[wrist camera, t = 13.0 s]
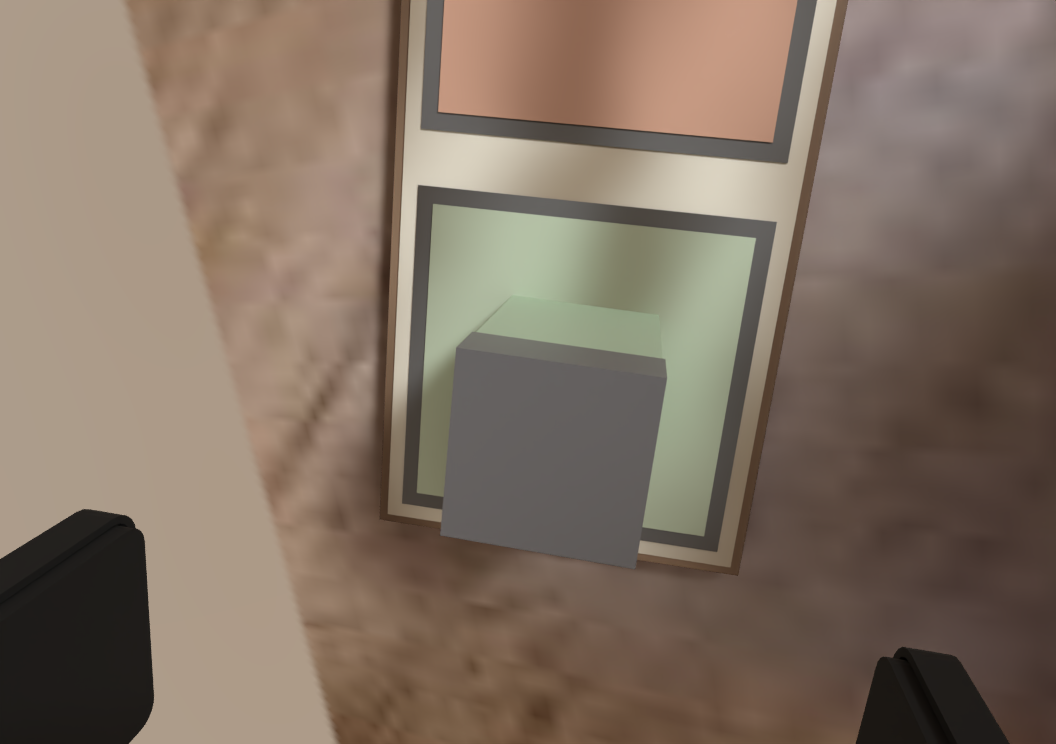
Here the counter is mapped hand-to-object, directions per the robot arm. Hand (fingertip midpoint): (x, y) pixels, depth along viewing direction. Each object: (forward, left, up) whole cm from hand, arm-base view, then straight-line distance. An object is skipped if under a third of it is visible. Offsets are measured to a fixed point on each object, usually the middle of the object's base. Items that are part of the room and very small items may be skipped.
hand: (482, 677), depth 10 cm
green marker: (0, 0, -15) cm, 15 cm away
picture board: (0, -6, -16) cm, 17 cm away
